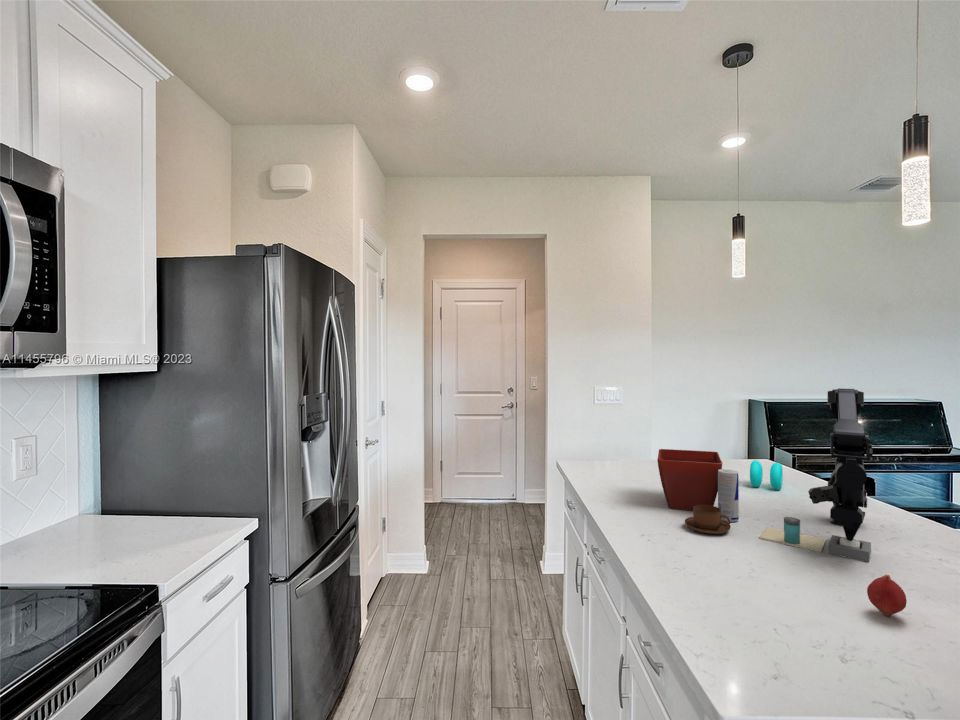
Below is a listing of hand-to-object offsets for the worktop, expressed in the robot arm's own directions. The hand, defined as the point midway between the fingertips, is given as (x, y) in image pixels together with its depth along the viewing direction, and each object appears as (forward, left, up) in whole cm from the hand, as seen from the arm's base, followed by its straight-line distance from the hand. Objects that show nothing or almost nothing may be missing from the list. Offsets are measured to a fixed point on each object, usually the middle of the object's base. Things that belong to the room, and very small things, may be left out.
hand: (849, 540), depth 122 cm
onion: (+32, +8, -3) cm, 33 cm away
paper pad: (-1, -12, -3) cm, 13 cm away
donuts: (-54, -29, -3) cm, 61 cm away
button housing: (0, 0, -3) cm, 3 cm away
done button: (0, 0, -3) cm, 3 cm away
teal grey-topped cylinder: (+2, -12, -3) cm, 13 cm away
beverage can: (-7, -30, -3) cm, 31 cm away
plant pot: (-14, -44, -3) cm, 46 cm away
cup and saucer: (+6, -32, -4) cm, 33 cm away
